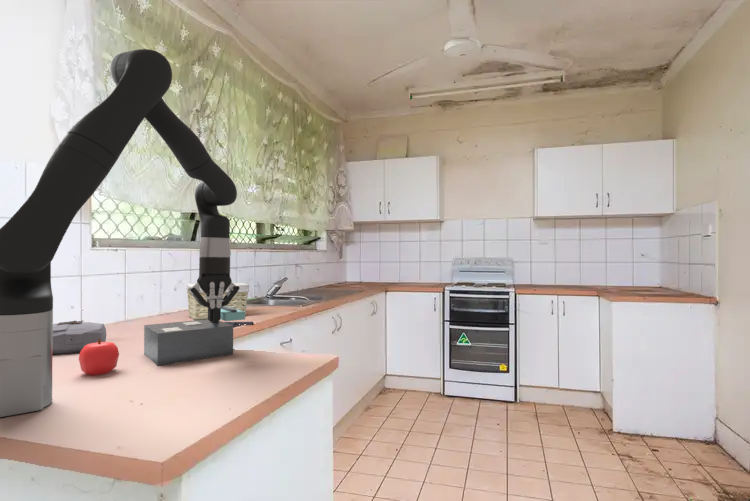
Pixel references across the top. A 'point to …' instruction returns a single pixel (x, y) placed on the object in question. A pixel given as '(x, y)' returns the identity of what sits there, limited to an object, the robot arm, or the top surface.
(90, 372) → the apple
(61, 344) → the small grey backpack
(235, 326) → the squeegee
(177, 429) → the top surface
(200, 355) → the box
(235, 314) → the bar
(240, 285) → the storage basket
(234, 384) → the top surface
